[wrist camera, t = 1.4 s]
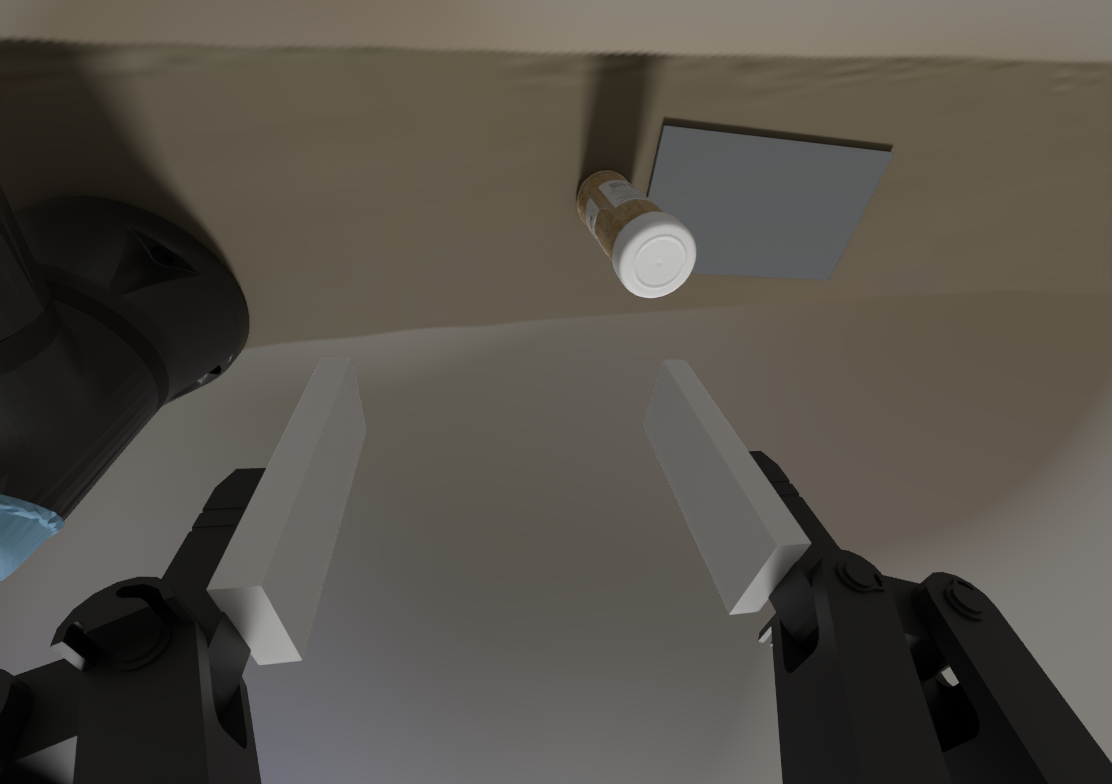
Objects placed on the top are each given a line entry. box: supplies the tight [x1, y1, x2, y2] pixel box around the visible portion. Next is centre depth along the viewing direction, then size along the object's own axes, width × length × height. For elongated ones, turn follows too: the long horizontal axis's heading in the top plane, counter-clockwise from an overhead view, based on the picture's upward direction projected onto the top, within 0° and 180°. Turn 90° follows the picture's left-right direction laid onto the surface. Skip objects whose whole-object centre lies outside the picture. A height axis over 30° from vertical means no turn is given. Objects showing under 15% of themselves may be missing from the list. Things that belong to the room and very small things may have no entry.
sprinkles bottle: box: [576, 170, 696, 298], centre depth 30 cm, size 5×5×14 cm
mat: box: [647, 125, 894, 280], centre depth 37 cm, size 20×11×1 cm, turn 83°
